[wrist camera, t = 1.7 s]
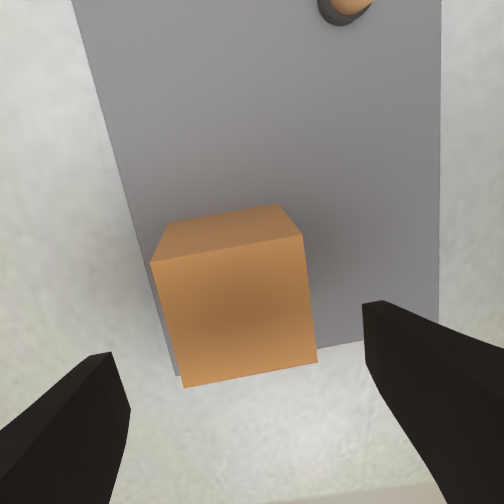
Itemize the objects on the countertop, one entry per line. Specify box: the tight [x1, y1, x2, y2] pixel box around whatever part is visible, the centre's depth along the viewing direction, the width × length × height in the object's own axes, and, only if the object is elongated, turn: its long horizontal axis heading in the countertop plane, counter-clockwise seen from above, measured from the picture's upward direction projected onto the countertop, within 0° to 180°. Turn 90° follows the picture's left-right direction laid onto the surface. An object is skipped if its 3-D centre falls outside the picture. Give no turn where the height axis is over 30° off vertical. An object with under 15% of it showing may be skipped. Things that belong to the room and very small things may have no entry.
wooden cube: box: [150, 203, 318, 388], centre depth 15 cm, size 5×5×5 cm
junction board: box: [71, 0, 441, 376], centre depth 15 cm, size 14×21×4 cm, turn 9°
